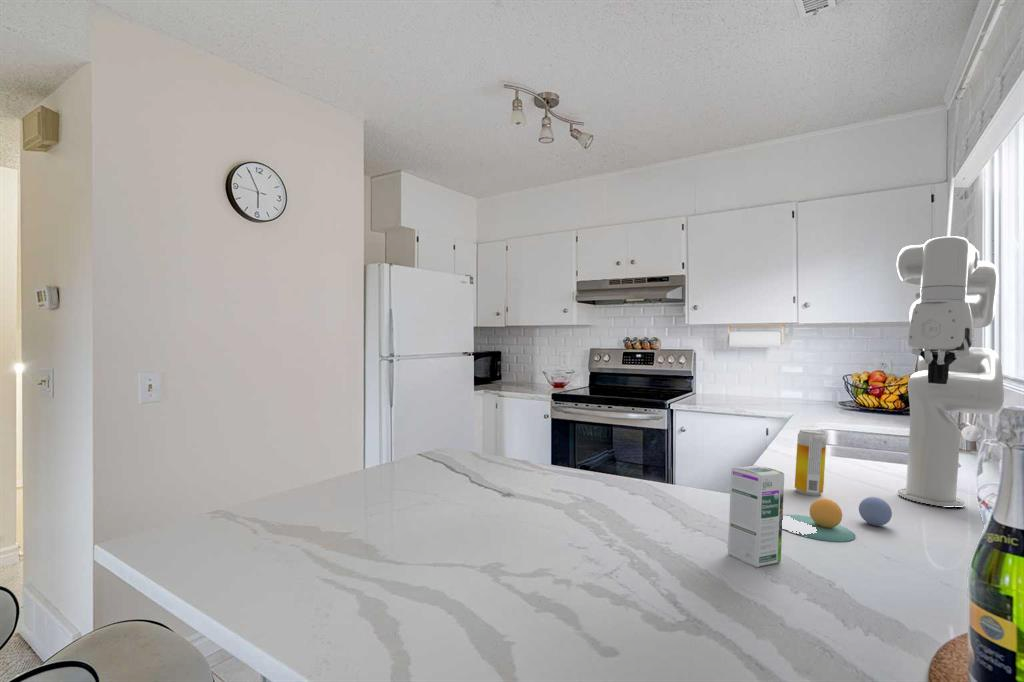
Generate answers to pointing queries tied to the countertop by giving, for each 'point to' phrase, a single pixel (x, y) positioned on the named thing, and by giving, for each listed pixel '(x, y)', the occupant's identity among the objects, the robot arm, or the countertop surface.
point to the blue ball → (875, 511)
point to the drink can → (810, 462)
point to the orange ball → (825, 513)
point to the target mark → (826, 531)
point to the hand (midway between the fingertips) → (937, 383)
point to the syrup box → (756, 515)
